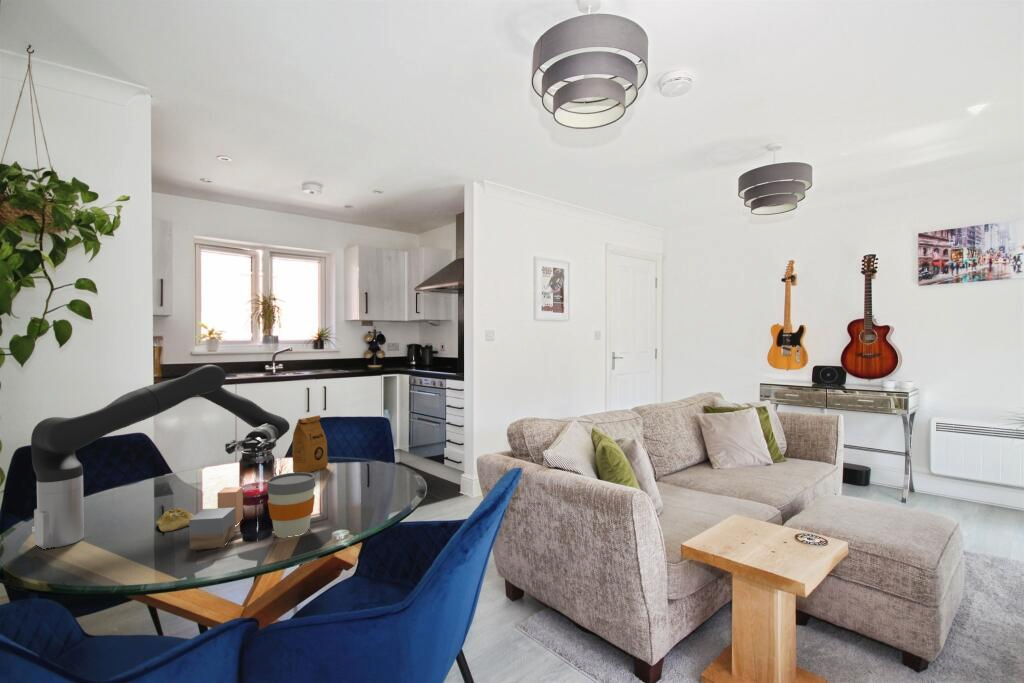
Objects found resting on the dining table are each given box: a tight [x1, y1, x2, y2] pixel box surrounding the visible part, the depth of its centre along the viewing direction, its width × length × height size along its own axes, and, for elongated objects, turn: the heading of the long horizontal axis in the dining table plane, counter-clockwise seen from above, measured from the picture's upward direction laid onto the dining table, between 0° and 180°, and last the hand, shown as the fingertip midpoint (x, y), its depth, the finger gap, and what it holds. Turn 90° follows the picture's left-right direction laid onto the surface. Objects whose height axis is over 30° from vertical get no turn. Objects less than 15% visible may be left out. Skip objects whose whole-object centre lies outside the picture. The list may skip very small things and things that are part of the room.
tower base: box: [189, 523, 236, 550], centre depth 134 cm, size 8×8×4 cm
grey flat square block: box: [188, 507, 235, 536], centre depth 134 cm, size 8×8×4 cm
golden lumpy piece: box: [155, 507, 196, 533], centre depth 147 cm, size 11×6×10 cm
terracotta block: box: [217, 486, 244, 525], centre depth 147 cm, size 5×5×10 cm
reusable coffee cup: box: [266, 472, 316, 537], centre depth 141 cm, size 13×13×15 cm
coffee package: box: [291, 414, 328, 473], centre depth 205 cm, size 10×12×22 cm
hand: (243, 450), depth 158 cm, fingers open, 8 cm apart
